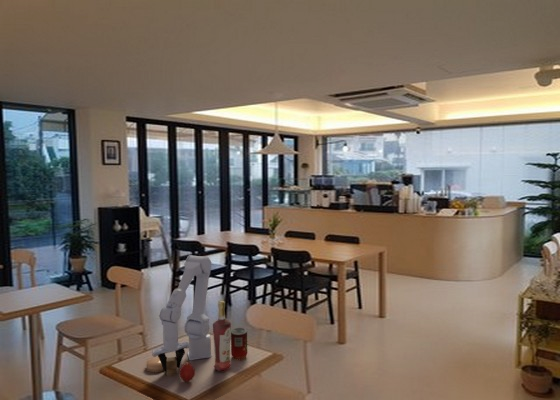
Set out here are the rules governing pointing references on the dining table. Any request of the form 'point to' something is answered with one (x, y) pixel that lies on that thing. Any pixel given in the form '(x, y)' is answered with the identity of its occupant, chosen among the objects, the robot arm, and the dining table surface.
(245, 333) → the soda can
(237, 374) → the dining table surface
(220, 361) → the liquor
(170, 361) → the walnut block
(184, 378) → the onion
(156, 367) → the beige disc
